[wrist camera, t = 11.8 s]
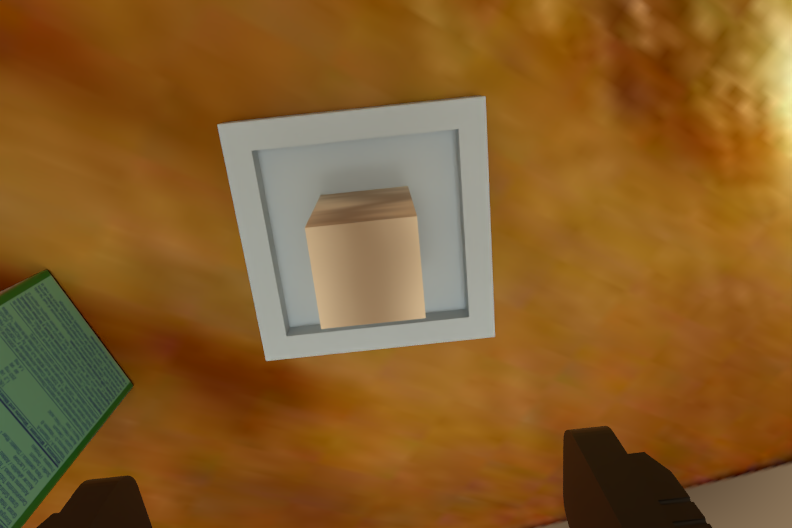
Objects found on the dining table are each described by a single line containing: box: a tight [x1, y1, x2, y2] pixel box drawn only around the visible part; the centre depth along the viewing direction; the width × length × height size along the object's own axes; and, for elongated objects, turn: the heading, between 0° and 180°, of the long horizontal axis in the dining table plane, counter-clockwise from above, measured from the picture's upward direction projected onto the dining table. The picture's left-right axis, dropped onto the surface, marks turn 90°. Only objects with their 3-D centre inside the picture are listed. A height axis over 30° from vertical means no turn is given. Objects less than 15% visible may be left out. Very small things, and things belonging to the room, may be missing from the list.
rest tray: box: [217, 95, 495, 361], centre depth 30 cm, size 14×14×2 cm
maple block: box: [305, 186, 426, 329], centre depth 27 cm, size 5×5×7 cm
